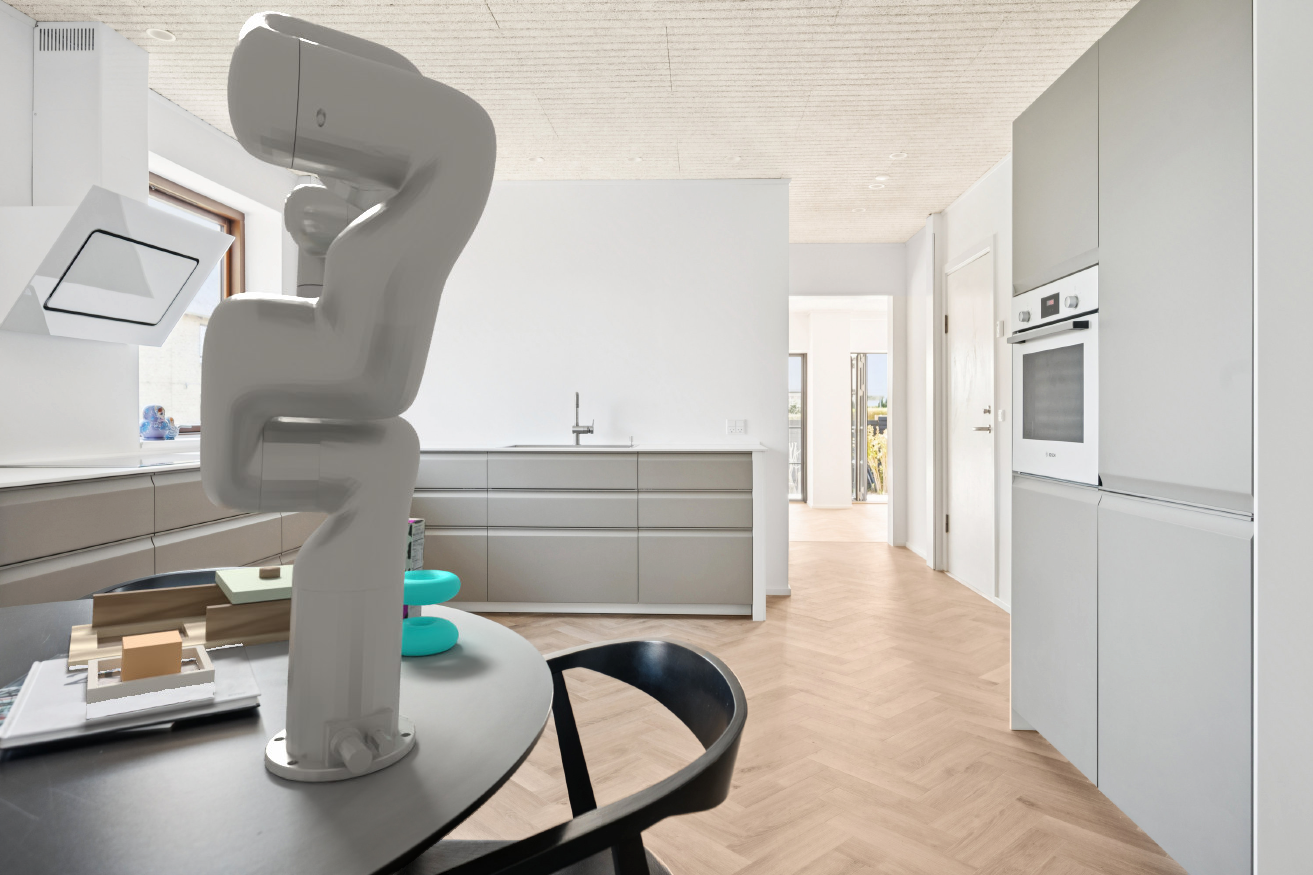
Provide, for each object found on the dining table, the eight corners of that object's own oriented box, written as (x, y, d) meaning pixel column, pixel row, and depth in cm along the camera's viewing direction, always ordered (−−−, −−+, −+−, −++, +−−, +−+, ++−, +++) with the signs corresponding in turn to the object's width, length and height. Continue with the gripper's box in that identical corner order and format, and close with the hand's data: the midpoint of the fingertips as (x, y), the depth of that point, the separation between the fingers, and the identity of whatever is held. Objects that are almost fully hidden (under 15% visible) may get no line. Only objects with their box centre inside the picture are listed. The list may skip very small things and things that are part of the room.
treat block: (180, 687, 74) (182, 641, 74) (121, 696, 70) (124, 648, 70) (176, 673, 77) (177, 630, 78) (120, 682, 74) (122, 637, 74)
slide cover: (326, 594, 93) (326, 574, 93) (232, 604, 86) (233, 582, 86) (299, 573, 105) (299, 556, 105) (215, 580, 98) (216, 562, 98)
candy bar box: (336, 626, 101) (340, 517, 101) (354, 617, 106) (358, 514, 106) (407, 631, 100) (412, 521, 100) (422, 622, 105) (426, 517, 105)
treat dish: (213, 696, 73) (214, 669, 73) (86, 719, 67) (87, 689, 67) (201, 669, 81) (202, 644, 81) (87, 687, 75) (88, 659, 75)
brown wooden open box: (328, 644, 93) (330, 596, 93) (67, 684, 75) (69, 625, 75) (299, 616, 106) (301, 574, 106) (71, 645, 88) (73, 594, 88)
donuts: (415, 565, 99) (474, 571, 97) (412, 633, 99) (472, 641, 97) (368, 578, 90) (433, 585, 87) (365, 653, 90) (430, 662, 87)
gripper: (281, 310, 91) (276, 436, 91) (314, 291, 78) (307, 439, 78) (341, 318, 96) (336, 438, 96) (381, 302, 82) (375, 441, 82)
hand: (323, 439), depth 87 cm, fingers open, 9 cm apart
